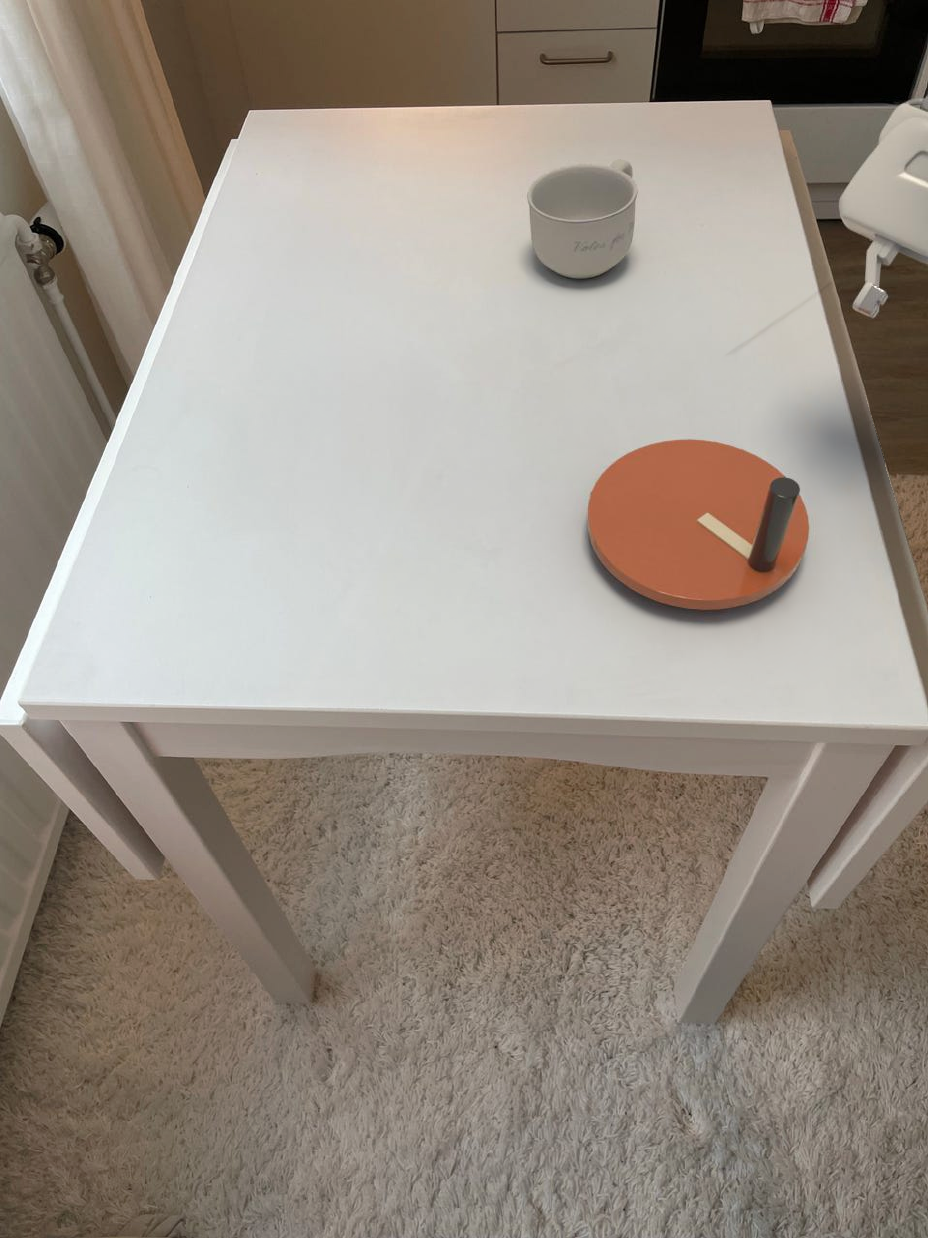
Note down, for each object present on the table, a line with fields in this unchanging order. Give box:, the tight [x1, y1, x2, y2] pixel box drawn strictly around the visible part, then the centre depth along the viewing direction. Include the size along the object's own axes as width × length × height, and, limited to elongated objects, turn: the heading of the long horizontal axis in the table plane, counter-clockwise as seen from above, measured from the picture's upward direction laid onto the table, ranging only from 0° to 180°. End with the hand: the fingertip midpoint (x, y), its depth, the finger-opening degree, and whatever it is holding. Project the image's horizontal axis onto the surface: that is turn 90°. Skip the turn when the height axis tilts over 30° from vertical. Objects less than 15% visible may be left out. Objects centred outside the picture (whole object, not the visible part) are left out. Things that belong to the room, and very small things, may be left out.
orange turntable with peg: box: [586, 438, 810, 611], centre depth 72 cm, size 17×17×9 cm
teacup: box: [526, 159, 639, 279], centre depth 98 cm, size 14×11×8 cm
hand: (923, 343), depth 65 cm, fingers open, 8 cm apart
